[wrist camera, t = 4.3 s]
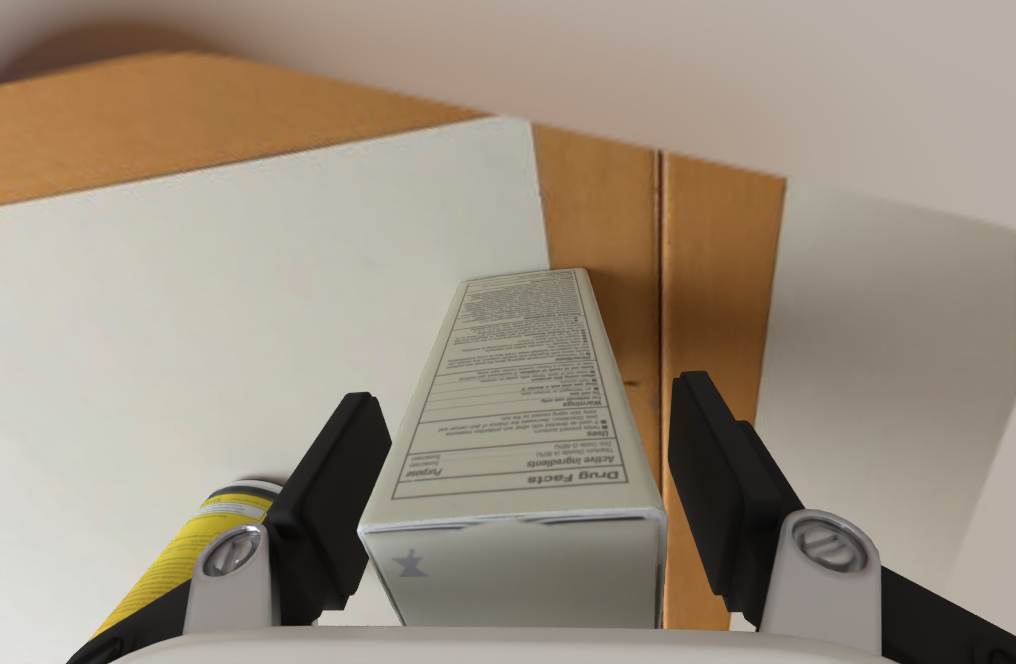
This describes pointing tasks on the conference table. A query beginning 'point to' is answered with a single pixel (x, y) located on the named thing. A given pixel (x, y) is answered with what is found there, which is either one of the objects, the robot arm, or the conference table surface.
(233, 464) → the conference table surface
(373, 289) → the conference table surface
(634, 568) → the box
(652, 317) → the conference table surface
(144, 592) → the pill bottle
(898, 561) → the conference table surface
